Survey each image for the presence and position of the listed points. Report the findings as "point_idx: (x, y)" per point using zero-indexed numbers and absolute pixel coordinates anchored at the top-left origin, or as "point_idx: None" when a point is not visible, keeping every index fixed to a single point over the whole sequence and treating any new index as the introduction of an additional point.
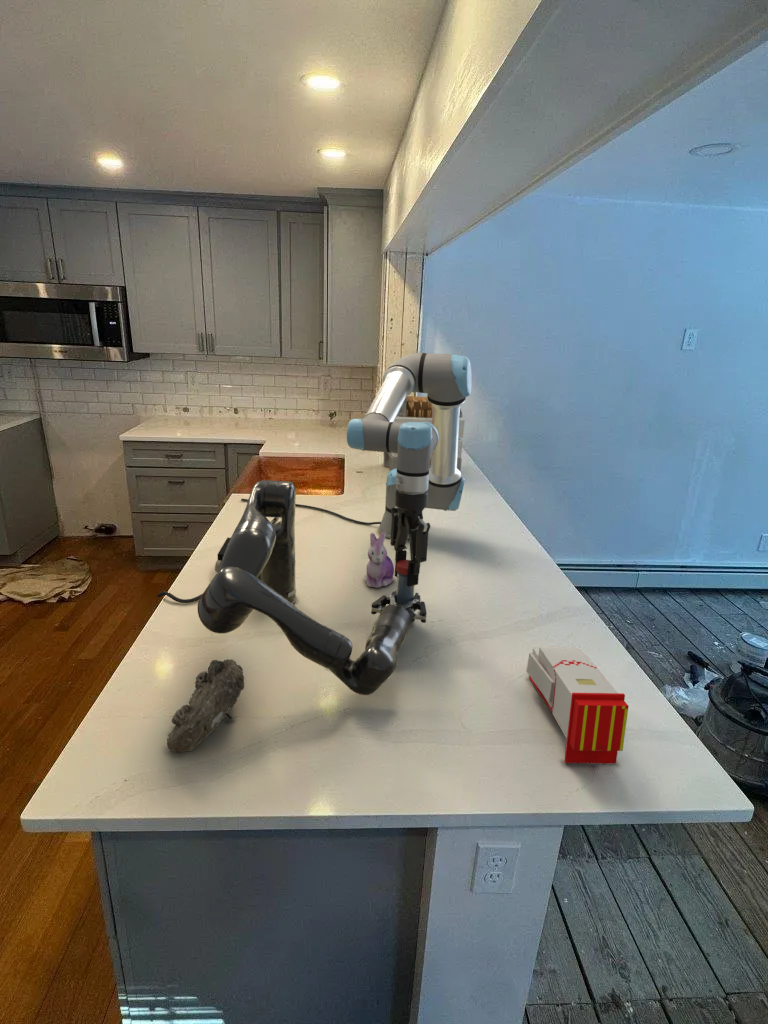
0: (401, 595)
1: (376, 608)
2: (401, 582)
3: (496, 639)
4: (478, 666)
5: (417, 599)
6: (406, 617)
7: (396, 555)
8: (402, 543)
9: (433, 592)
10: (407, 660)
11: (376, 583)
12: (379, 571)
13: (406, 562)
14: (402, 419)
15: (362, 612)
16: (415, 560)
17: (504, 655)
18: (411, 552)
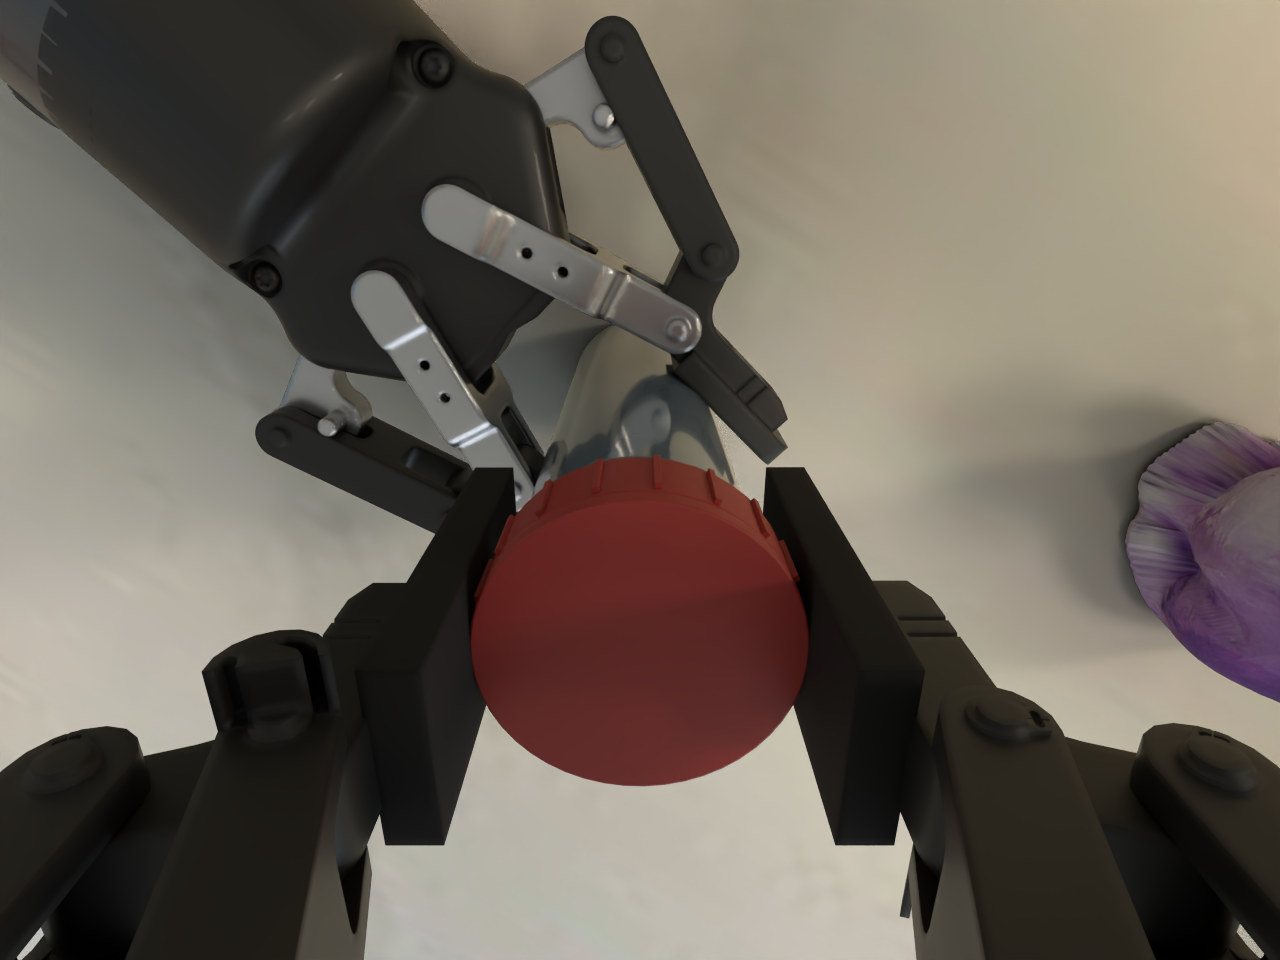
0: (585, 395)
1: (570, 62)
2: (581, 438)
3: None
4: (32, 512)
5: None
6: (130, 183)
7: (871, 630)
8: (941, 947)
9: None
10: None
11: (1179, 478)
12: (1244, 538)
13: (692, 674)
14: None
15: (918, 175)
16: (126, 758)
17: (107, 687)
18: (240, 873)
